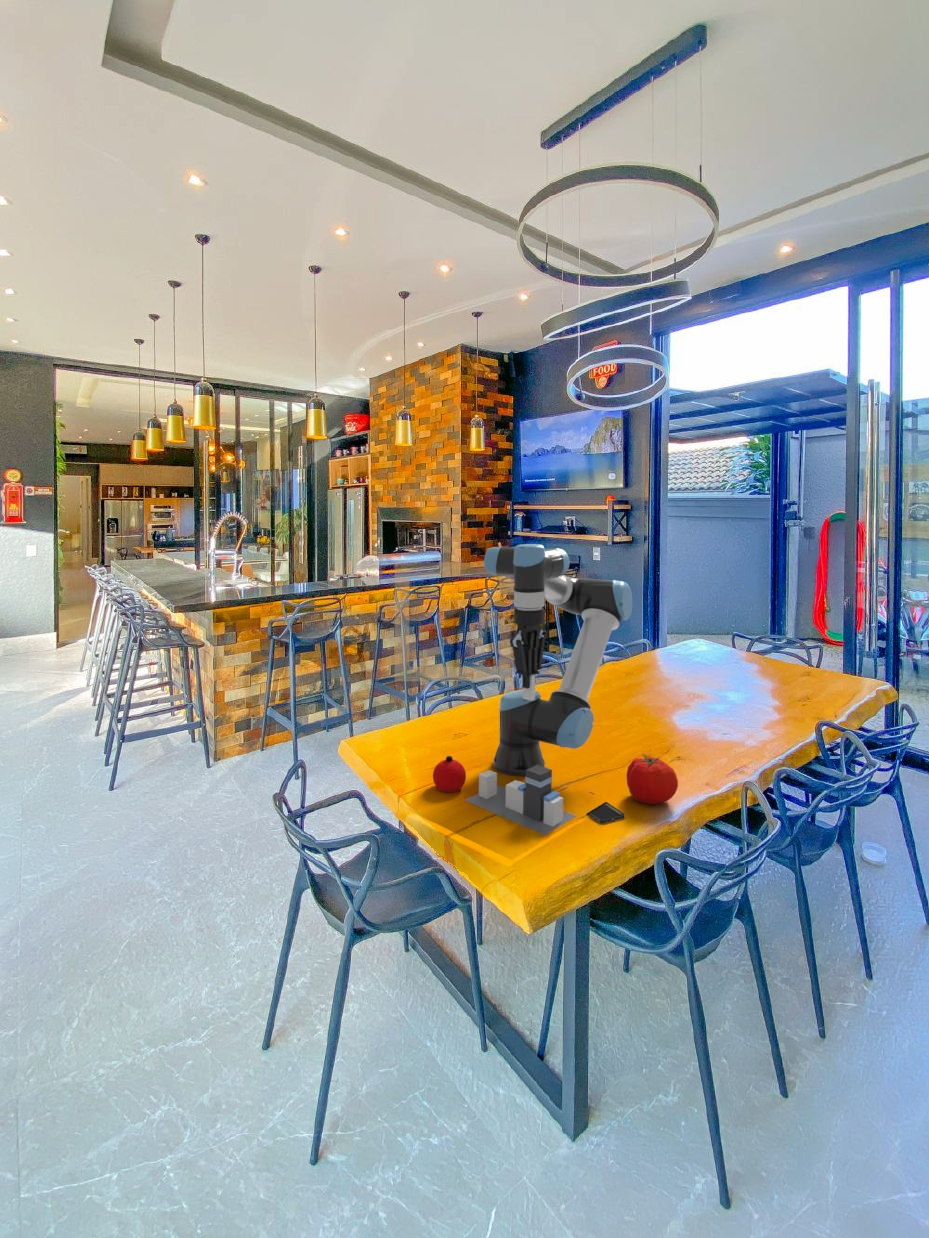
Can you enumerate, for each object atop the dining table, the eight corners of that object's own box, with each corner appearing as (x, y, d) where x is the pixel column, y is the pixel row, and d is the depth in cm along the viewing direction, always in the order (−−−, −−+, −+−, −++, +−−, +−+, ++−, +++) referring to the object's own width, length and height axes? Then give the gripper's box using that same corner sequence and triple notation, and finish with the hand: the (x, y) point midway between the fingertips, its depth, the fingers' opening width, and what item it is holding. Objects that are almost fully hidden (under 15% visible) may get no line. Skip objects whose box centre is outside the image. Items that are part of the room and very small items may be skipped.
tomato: (637, 785, 178) (639, 746, 176) (684, 799, 169) (687, 758, 167) (616, 800, 169) (618, 759, 167) (664, 816, 160) (667, 773, 158)
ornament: (472, 789, 175) (472, 754, 174) (453, 801, 168) (453, 765, 166) (445, 781, 180) (445, 748, 179) (426, 793, 173) (425, 758, 171)
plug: (536, 809, 162) (537, 764, 160) (551, 815, 158) (552, 769, 156) (524, 815, 158) (525, 769, 156) (539, 821, 155) (540, 775, 153)
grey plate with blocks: (497, 788, 176) (497, 761, 175) (576, 819, 158) (577, 790, 157) (464, 803, 167) (464, 775, 166) (544, 839, 149) (545, 807, 148)
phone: (590, 791, 173) (626, 814, 159) (590, 795, 173) (626, 819, 160) (565, 796, 169) (601, 821, 156) (565, 800, 170) (600, 825, 156)
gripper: (531, 602, 165) (531, 690, 169) (500, 610, 155) (501, 702, 160) (556, 605, 160) (555, 695, 165) (526, 613, 150) (526, 709, 155)
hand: (529, 699), depth 162 cm, fingers closed
